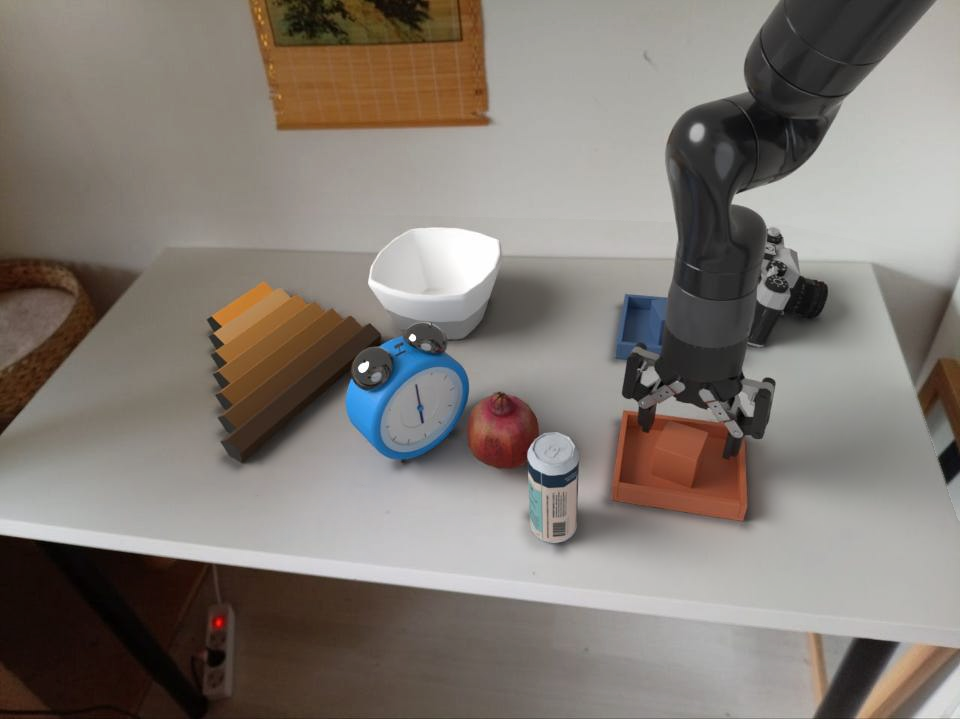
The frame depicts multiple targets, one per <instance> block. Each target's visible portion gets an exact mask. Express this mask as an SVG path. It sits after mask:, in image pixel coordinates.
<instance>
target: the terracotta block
mask: <svg viewBox="0 0 960 719" xmlns="http://www.w3.org/2000/svg"><path fill="white" fill-rule="evenodd" d="M708 434H709V433H708V432H705V431H702V430H699V429H696V428H693V427H689V426H686V425H683V424H680V423H677V422H674V421H670V420H668V421H667V423H666V425H665V427H664V429H663V431H662V433H661V435H660V437H659V439H658V442H657V444H656V446H655V449H654V456H653V463H652V470H651V474H652V475H655V476H658V477H660V478H663V479H666V480H669V481H672V482H675V483H678V484H680V485H683V486H686V487H689V488H692V486H693V483H694V481H695V478H696V476H697V473H698V471H699V468H700V466H701V463H702V461H703V457H704V453H705V448H706V443H707V439H708Z"/></svg>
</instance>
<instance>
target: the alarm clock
mask: <svg viewBox="0 0 960 719" xmlns="http://www.w3.org/2000/svg"><path fill="white" fill-rule="evenodd" d="M448 341H449V339H447V337H446V335H445V333H444V332H443V330H441V329H440V328H439V327H438V326H436V325H434V324H432V323H431V322H430V323H427V322H419V323H415V324H412V325H411V326H409V327H408V328H407V329H406V331H404V333H403V335H402V336H399V337H395V338H392V339H390V340H388V341H385V342H384V343H382V344H380V345H379V346H378V347H369V348H366V349H364V350H363V351H361V352H360V353H359V354H358V355H357V356H356V357H355V359H354V361H353V363H352V366H351V370H350V376H351V379H350V381H349V384H348V387H347V391H346V396H345V409H346V414H347V418H348V419H349V421H350V423H351V425H352V426H353V427H354V428H355V429H356V430H357V431H358V432H359V433H360V434H361V435H362V436H363V437H364V438H365V439H366V441H367V442H369V443H370V445H371V446H372V447H373V448H374V449H375V450H376V451H377V452H378V453H379V454H381V455H382V456H384V457H385V458H389V459H392V460H400V464H405V461H406V460H408V459H413V458H416V457H419V456H421V455H424V454H426V453H427V452H429V451H431V450H432V449H433V448H435V447H437V446H438V445H440V443H441V442H443V441H444V440H445V439H446V438H447V437H448V436H449V435H451V434H452V431H453V430H454V429H455V427H456V426H457V424H458V423H459V421H460V420H461V418H462V416H463V415H464V412H465V409H466V407H467V404H468V400H469V395H470V381H469V376H468V374H467V371H466V370H465V368H464V367H463V365H462V364H461V363H460V362H459V361H458V360H456V359H455V358H454V357H452V356H451V355H450V354H449V353H447V352H446V351H447V349H448V345H449V342H448Z"/></svg>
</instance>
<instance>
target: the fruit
mask: <svg viewBox="0 0 960 719" xmlns="http://www.w3.org/2000/svg"><path fill="white" fill-rule="evenodd" d="M465 429H466V430H465V431H466V437H467V438H466V439H467V443H468V444H467V445H468V447H469V449H470V451H471V454H472V455H473V457H475V458H476V460H478V461H479V462H481V463H483V464H484V465H486V466H489V467H491V468H494V469H498V470H513V469H515V468H518V467H522V466H524V465H525V464H526V463H528V458H527V456H528V450H529V448H530V446H531V444H532V443H533V442H534V440H535V439H536V438H538V437H539V436H541V435H540V426H539V420H538V417H537V415H536V413H535V412H534V411H533V409H532V408H531V407H530V405H529V404H528V403H527V402H525V401H524V400H522V399H521V398H520V397H518V396H515V395H512V394H507V393H505V392H503V391H497V392H493V394H492V395H490V396H487V397H485V398H483V399H480V401H479V402H478V403H477V404H476V405H475V406H474V407H472V409H471V411H470V414H469V417H468V421H467V423H466V428H465Z"/></svg>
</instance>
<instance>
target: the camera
mask: <svg viewBox="0 0 960 719" xmlns="http://www.w3.org/2000/svg"><path fill="white" fill-rule="evenodd" d="M828 296H829V286H828V285H827V283H825V282H824V281H823V280H821V281H819V280H818V279H811V278H808V277H804V276H803V275H802V274H801V270H800V264H799V256H798V252H797V251H795V250H794V249H792V248H790V247H789V248H787V247H786V246H785V241H784V237H783V235H782V233H781V230H780V229H779V228H778V227H774V226H771V227H769V228H767V244H766V249H765V253H764V258H763V263H762V267H761V272H760V276H759V281H758V286H757V301H756V309H755V319H754V323H753V324H752V327H751V331H750V336H749V340H748V344H747V345H750V346H754V347H758V348H763V347H764V346H765V344H766V342H767V340H768V339H769V337H770V335H771V333H772V331H773V330H774V327H775V326H776V324H777V322H778V320H779V318H780V317H781V315H783V316H784V314H789V315H792V314H794V315H798V316H800V317H802V318H809V319H813V318H817V317H819V316H820V315H821V314H822V312H823V309H824V308H825V305H826V303H827V300H828Z"/></svg>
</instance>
